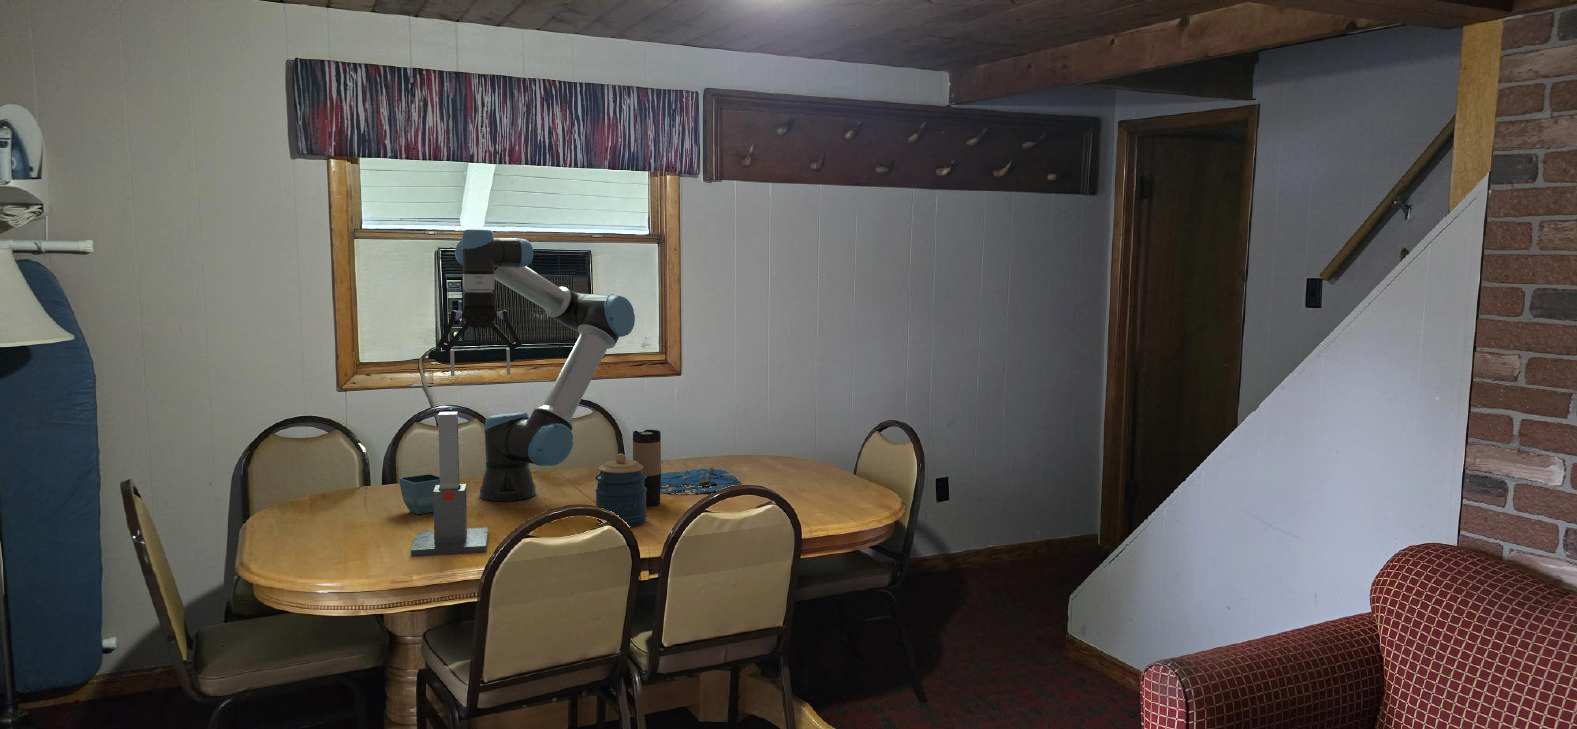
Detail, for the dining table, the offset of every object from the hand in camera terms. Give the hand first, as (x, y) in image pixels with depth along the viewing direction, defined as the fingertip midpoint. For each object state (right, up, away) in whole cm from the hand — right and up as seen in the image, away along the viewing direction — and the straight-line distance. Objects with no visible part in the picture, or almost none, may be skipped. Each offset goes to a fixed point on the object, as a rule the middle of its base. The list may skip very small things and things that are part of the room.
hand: (480, 375), depth 258 cm
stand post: (0, -31, -22) cm, 38 cm away
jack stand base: (0, -39, -21) cm, 45 cm away
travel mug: (+40, -36, +19) cm, 56 cm away
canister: (+36, -38, 0) cm, 52 cm away
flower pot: (-18, -36, +8) cm, 41 cm away
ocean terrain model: (+50, -34, +44) cm, 74 cm away
